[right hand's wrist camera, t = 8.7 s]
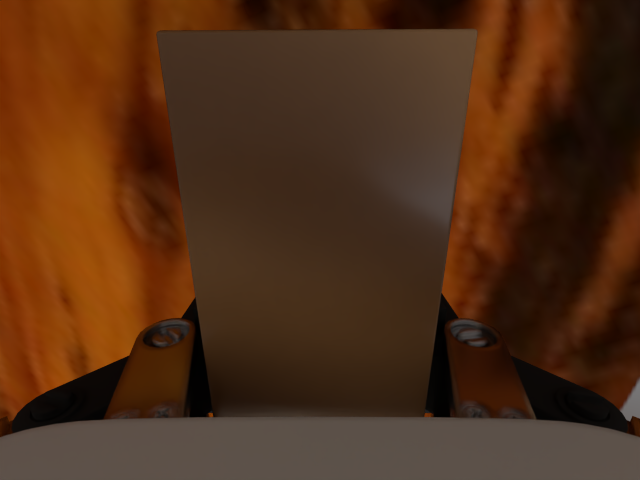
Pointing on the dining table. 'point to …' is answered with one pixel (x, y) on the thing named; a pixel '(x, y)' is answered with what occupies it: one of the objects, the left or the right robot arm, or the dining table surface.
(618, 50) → the dining table surface
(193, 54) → the beam
